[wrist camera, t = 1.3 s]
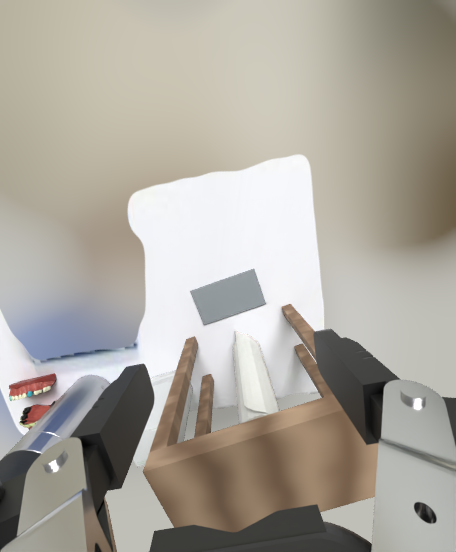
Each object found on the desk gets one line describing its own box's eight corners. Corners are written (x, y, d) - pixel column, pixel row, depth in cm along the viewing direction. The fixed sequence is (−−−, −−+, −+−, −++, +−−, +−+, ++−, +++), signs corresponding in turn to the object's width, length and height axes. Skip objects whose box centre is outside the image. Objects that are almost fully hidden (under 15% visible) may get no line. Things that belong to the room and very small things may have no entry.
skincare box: (160, 398, 52) (134, 470, 36) (150, 375, 50) (119, 439, 35) (194, 389, 51) (182, 457, 36) (185, 365, 50) (168, 425, 35)
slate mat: (204, 324, 48) (204, 324, 47) (190, 290, 46) (190, 291, 46) (265, 303, 47) (265, 303, 47) (253, 268, 45) (254, 269, 45)
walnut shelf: (205, 383, 51) (187, 550, 25) (186, 339, 49) (142, 472, 22) (305, 351, 50) (397, 490, 23) (290, 303, 47) (375, 399, 21)
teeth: (27, 386, 43) (52, 433, 46) (53, 365, 49) (73, 409, 52) (-11, 393, 44) (15, 440, 46) (18, 372, 50) (40, 415, 53)
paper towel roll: (257, 360, 50) (282, 455, 29) (231, 358, 50) (237, 452, 29) (262, 331, 49) (291, 410, 28) (234, 329, 48) (243, 406, 27)
